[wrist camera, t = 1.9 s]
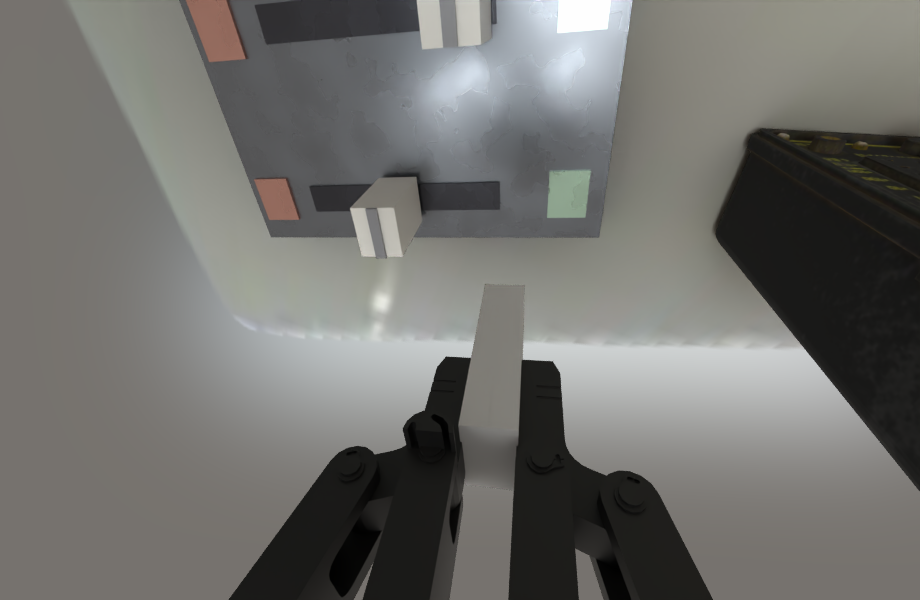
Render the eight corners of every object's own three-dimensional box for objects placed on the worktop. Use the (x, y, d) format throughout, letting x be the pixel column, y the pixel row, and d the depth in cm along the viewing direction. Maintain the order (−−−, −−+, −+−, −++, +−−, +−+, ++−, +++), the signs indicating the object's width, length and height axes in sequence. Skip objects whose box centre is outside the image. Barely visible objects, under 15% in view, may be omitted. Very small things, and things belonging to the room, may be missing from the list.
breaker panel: (191, -33, 23) (162, -37, 21) (637, -91, 18) (647, -102, 17) (284, 225, 32) (269, 238, 30) (595, 224, 28) (599, 238, 26)
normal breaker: (437, -32, 19) (410, -45, 15) (489, -38, 18) (476, -53, 14) (443, 42, 21) (421, 50, 16) (491, 38, 20) (480, 45, 16)
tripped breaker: (379, 177, 26) (348, 209, 21) (416, 176, 25) (392, 209, 21) (387, 220, 27) (360, 258, 23) (422, 220, 27) (401, 258, 23)
